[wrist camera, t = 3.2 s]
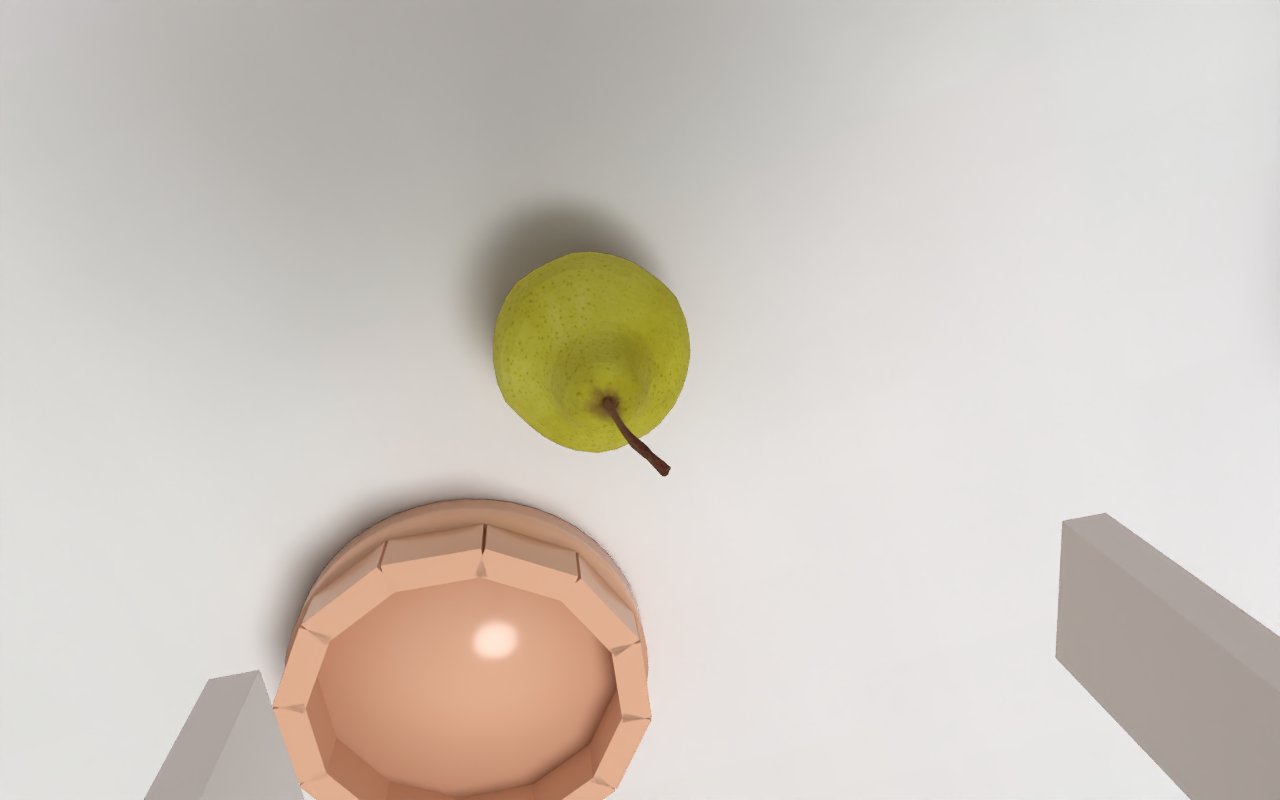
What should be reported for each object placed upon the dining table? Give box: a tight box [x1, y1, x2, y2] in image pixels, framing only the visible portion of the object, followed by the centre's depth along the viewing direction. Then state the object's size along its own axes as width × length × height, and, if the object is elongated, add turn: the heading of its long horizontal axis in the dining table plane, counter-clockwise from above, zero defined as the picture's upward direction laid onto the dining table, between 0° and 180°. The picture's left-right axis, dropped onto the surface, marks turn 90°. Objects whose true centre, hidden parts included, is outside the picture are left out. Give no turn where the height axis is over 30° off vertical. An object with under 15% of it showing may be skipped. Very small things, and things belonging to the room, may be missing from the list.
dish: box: [272, 499, 652, 800], centre depth 36 cm, size 15×15×4 cm
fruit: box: [493, 251, 690, 476], centre depth 28 cm, size 7×7×12 cm
